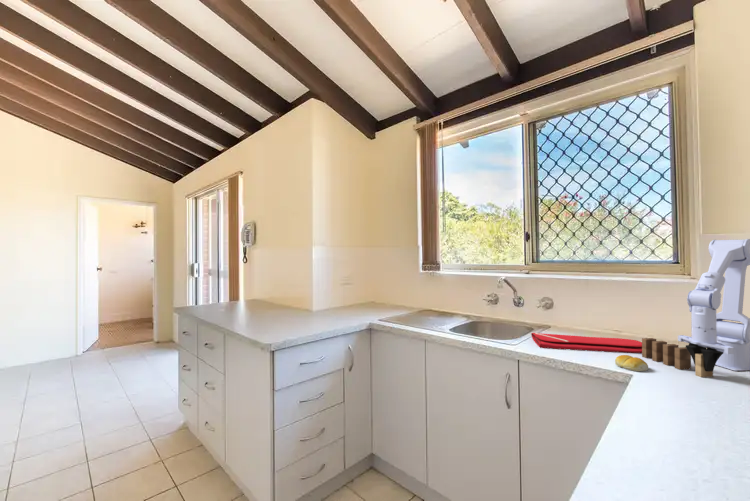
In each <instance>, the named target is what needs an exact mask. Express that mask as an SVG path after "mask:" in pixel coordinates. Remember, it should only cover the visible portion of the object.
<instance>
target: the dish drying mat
mask: <svg viewBox="0 0 750 501" xmlns="http://www.w3.org/2000/svg"><path fill="white" fill-rule="evenodd" d="M530 335H531V338H532V341H533V343H535V344H536V345H537V346H538V347H540V349H550V348H553V349H554V350H566V349H570V350H571V351H585V350H587V352H602V351H604V352H605V353H625V354H642V341H639V340H636V339H630V338H619V337H601V336H600V337H598V336H585V335H584V336H582V335H569V334H557V333H556V334H555V333H540V332H531V333H530ZM553 349H552V350H553ZM570 350H569V351H570ZM604 352H603V353H604Z"/></svg>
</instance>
